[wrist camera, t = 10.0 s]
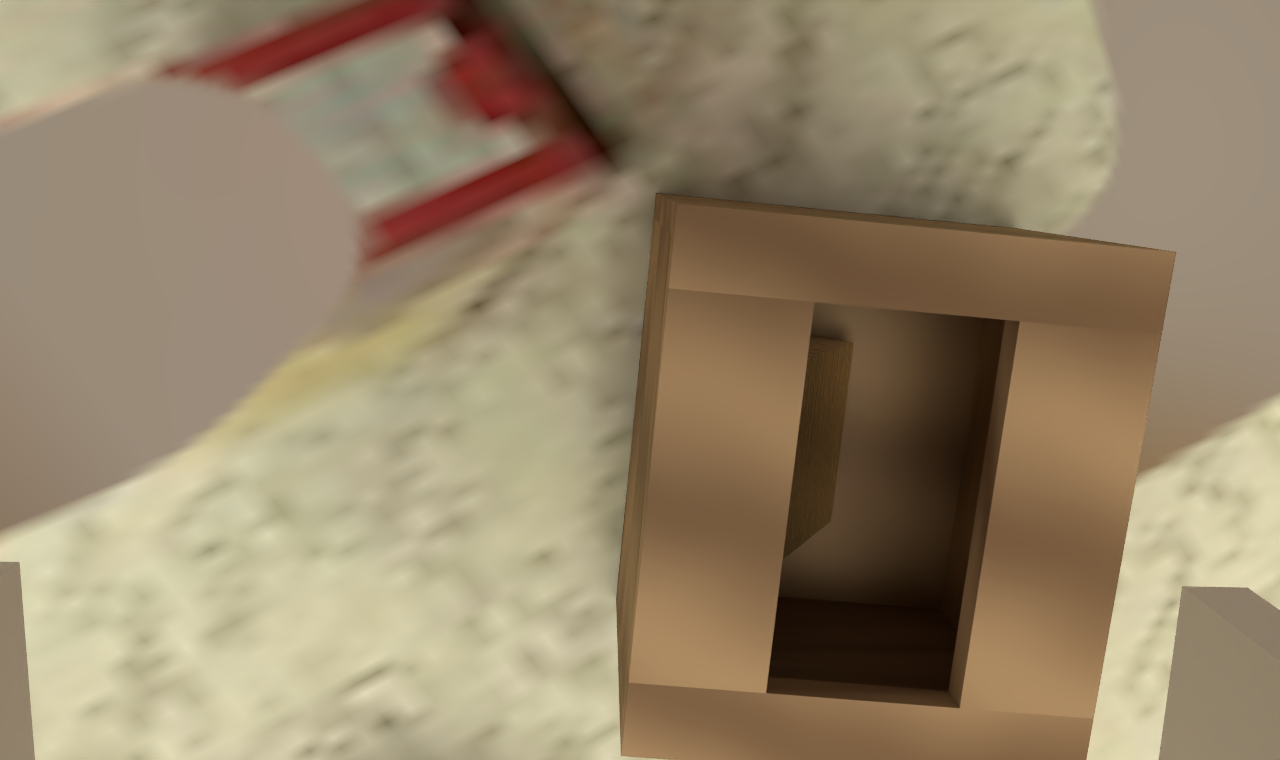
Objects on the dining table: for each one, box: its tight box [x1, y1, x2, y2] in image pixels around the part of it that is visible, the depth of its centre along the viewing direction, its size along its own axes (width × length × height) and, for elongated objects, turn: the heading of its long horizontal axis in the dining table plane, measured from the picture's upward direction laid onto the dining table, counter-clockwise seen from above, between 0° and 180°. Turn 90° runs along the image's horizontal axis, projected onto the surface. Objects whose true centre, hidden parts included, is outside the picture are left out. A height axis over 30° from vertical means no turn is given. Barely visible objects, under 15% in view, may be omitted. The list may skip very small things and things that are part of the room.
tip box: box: [616, 193, 1176, 760], centre depth 34 cm, size 14×12×11 cm
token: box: [783, 336, 854, 559], centre depth 35 cm, size 6×2×8 cm, turn 175°
